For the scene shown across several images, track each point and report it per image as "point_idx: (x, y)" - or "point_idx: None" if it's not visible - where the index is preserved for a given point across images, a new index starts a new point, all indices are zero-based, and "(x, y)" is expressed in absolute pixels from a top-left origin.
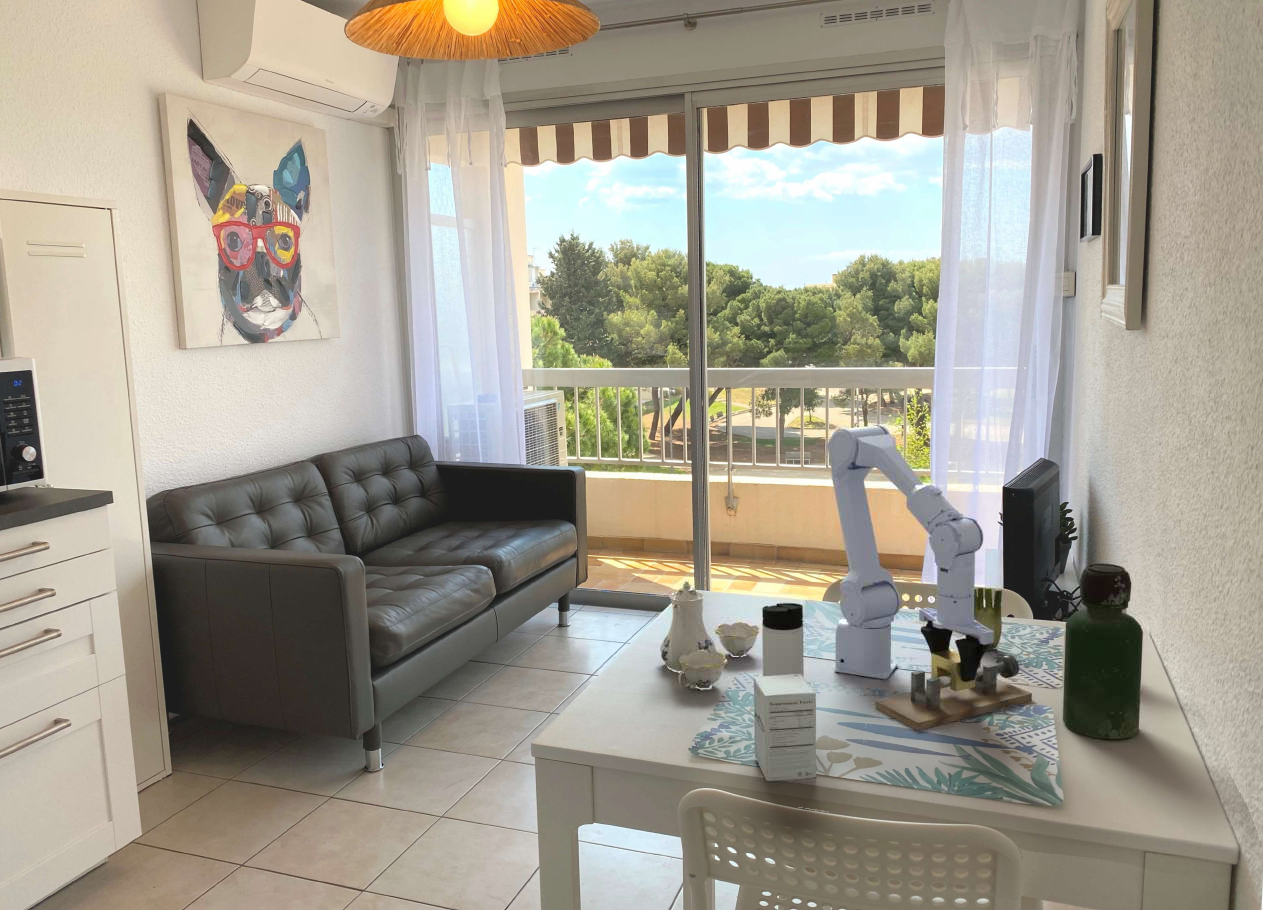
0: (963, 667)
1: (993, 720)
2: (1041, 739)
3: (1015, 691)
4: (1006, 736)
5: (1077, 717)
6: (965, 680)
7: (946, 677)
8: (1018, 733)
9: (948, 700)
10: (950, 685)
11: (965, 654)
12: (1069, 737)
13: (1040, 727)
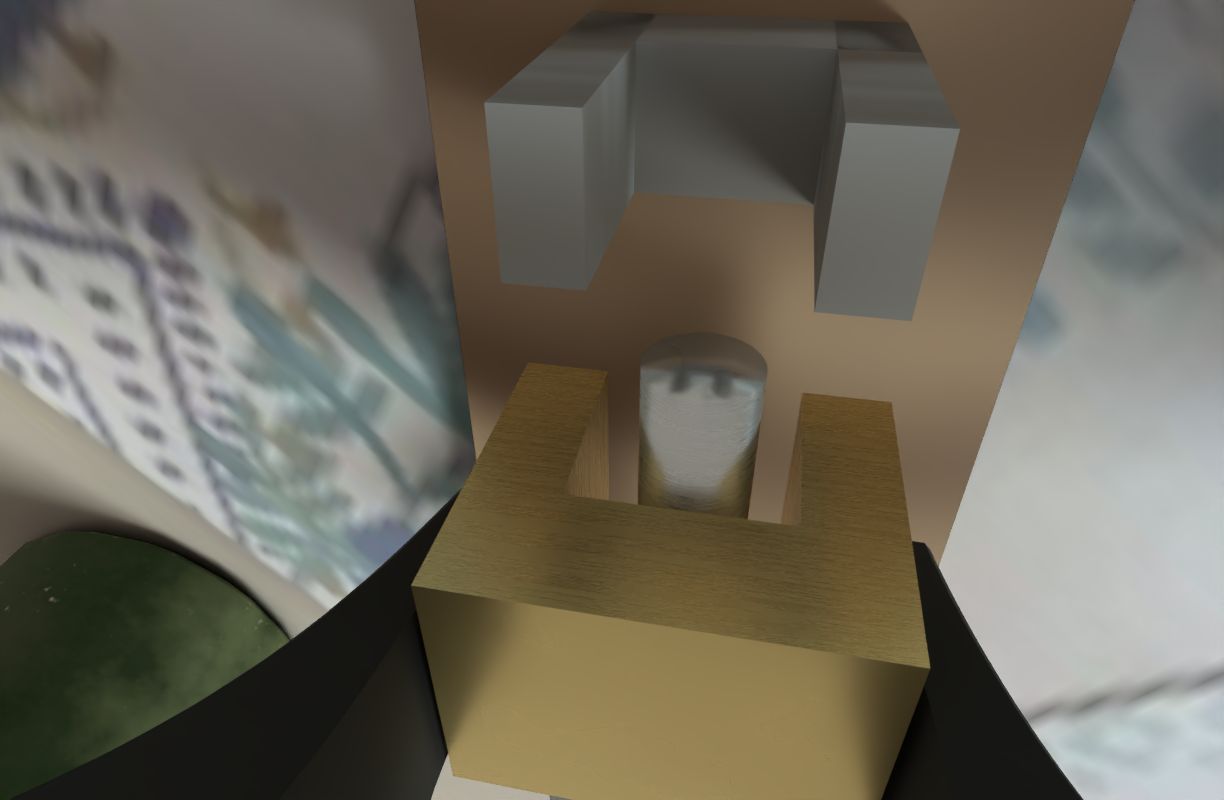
0: (385, 580)
1: (371, 363)
2: (67, 359)
3: None
4: (128, 234)
5: (44, 590)
6: (459, 492)
7: (666, 451)
8: (160, 326)
9: (682, 328)
10: (595, 390)
11: (180, 722)
12: (80, 474)
13: (215, 471)
